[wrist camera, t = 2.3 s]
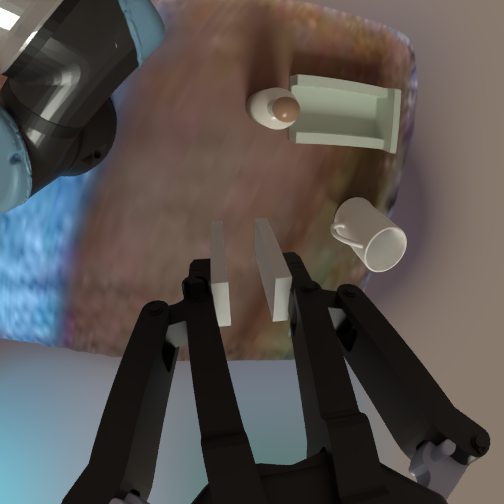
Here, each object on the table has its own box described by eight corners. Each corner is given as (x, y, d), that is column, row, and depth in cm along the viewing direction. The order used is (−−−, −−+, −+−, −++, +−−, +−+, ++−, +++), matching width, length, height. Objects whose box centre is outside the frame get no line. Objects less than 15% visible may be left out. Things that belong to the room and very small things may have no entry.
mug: (312, 232, 50) (337, 270, 40) (325, 189, 46) (357, 217, 36) (364, 240, 52) (394, 275, 42) (379, 201, 48) (415, 230, 38)
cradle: (288, 139, 41) (300, 146, 35) (289, 76, 35) (302, 72, 30) (375, 145, 42) (395, 153, 37) (379, 89, 37) (401, 90, 32)
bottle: (245, 123, 38) (261, 133, 26) (245, 90, 36) (261, 84, 24) (279, 123, 39) (310, 134, 27) (280, 91, 36) (311, 87, 24)
